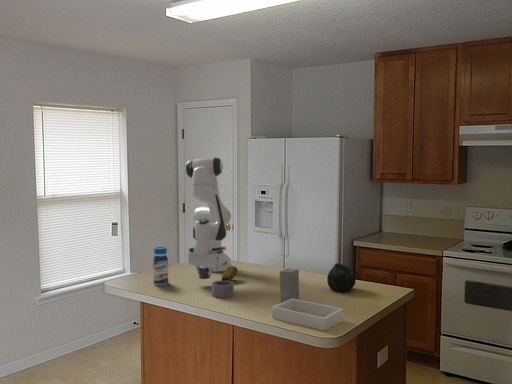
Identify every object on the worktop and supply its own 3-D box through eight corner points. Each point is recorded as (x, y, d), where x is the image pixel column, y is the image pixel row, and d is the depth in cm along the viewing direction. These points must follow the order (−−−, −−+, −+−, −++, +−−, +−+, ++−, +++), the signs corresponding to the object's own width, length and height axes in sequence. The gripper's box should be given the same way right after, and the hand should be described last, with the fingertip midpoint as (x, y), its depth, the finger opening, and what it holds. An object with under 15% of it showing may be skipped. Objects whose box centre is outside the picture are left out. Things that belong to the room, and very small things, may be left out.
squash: (365, 280, 256) (348, 256, 262) (349, 287, 245) (332, 262, 251) (348, 294, 264) (332, 270, 270) (332, 301, 254) (316, 277, 259)
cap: (204, 275, 271) (203, 265, 271) (212, 276, 268) (212, 267, 267) (196, 277, 267) (196, 268, 266) (205, 279, 263) (204, 269, 263)
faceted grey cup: (221, 290, 258) (221, 279, 257) (238, 294, 251) (237, 282, 250) (207, 295, 249) (207, 283, 248) (223, 299, 242) (223, 287, 242)
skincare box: (291, 305, 232) (292, 272, 230) (278, 303, 235) (278, 270, 234) (300, 301, 239) (300, 269, 238) (287, 298, 243) (287, 267, 241)
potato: (215, 282, 274) (215, 268, 274) (231, 278, 284) (231, 264, 283) (225, 285, 269) (225, 270, 268) (241, 280, 278) (241, 266, 278)
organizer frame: (292, 308, 227) (292, 298, 226) (343, 320, 211) (343, 308, 210) (272, 318, 214) (272, 306, 214) (324, 330, 198) (324, 318, 198)
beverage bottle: (170, 281, 276) (169, 246, 275) (166, 285, 268) (165, 249, 266) (155, 281, 277) (155, 246, 275) (151, 285, 268) (150, 249, 267)
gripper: (222, 250, 262) (222, 275, 264) (194, 246, 274) (194, 270, 275) (214, 252, 257) (215, 278, 258) (186, 248, 269) (186, 273, 270)
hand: (204, 274), depth 267 cm, fingers closed on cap, 6 cm apart
